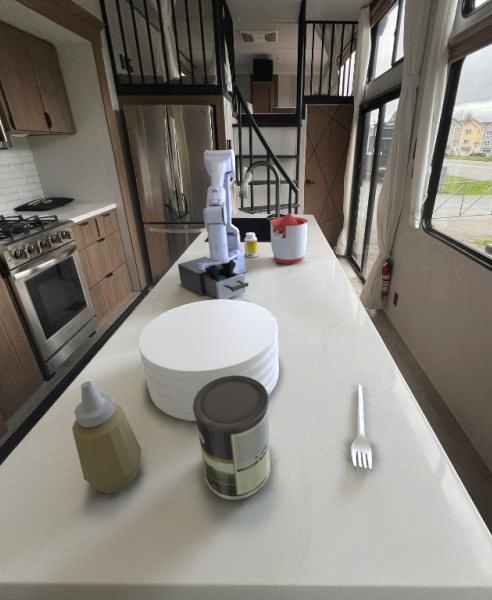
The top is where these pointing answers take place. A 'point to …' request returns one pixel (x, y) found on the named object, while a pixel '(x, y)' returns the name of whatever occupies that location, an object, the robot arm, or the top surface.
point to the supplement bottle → (250, 245)
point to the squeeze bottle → (105, 442)
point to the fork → (361, 437)
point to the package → (222, 278)
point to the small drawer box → (193, 275)
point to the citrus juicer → (288, 239)
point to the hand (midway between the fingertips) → (222, 284)
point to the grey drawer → (224, 285)
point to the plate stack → (206, 350)
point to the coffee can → (233, 435)
